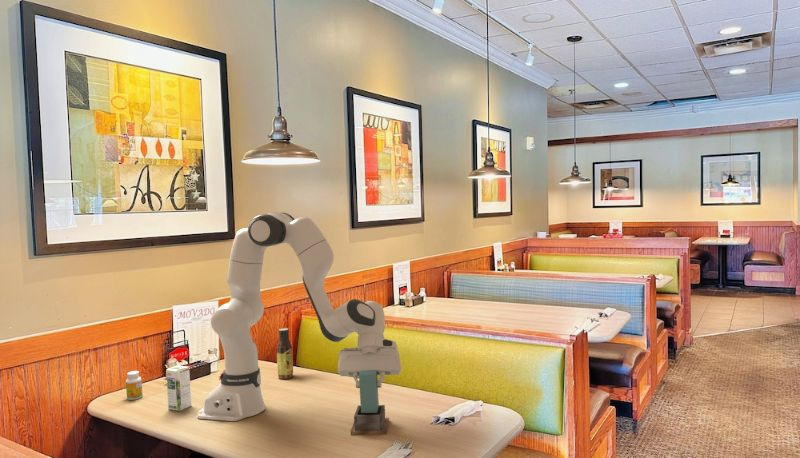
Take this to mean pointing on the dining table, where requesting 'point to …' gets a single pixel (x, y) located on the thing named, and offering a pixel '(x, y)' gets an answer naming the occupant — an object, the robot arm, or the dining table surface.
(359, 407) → the box
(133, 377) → the supplement bottle
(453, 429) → the dining table surface
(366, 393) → the teal block
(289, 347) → the sauce bottle
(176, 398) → the syrup box
